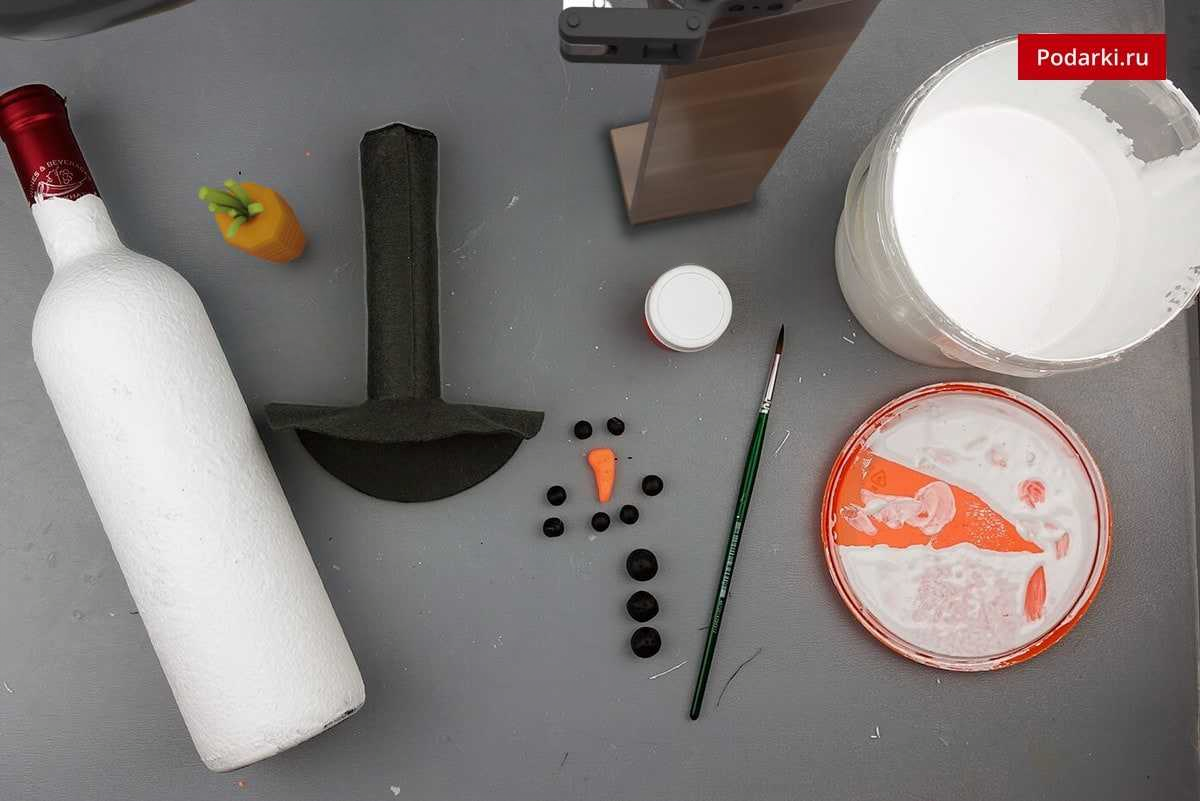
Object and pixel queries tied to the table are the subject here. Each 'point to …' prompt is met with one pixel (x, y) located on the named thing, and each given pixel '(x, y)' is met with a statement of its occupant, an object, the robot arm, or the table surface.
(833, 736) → the table surface
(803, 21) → the rack
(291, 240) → the carrot
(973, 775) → the table surface
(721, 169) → the stand
